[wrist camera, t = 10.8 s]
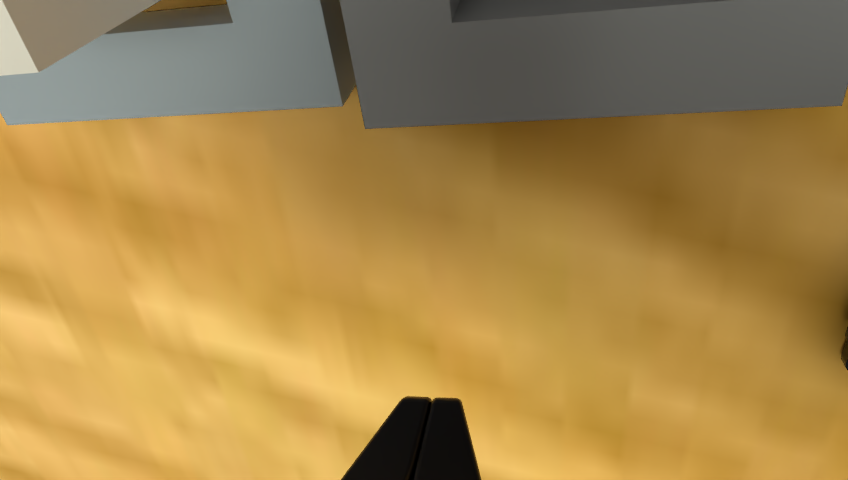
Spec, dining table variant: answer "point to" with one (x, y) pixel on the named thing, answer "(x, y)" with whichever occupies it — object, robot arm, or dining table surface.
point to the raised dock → (591, 58)
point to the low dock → (194, 65)
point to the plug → (55, 29)
